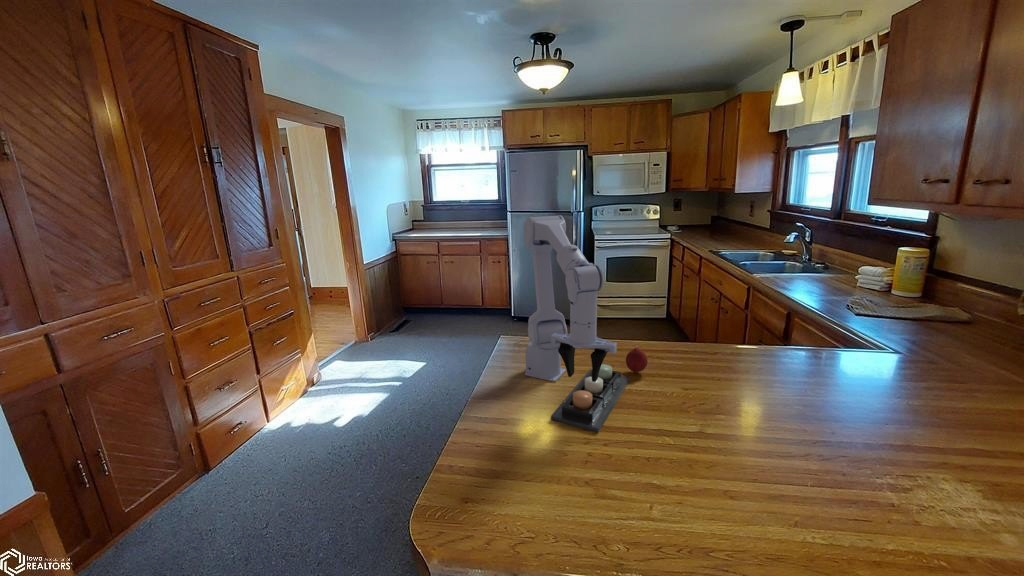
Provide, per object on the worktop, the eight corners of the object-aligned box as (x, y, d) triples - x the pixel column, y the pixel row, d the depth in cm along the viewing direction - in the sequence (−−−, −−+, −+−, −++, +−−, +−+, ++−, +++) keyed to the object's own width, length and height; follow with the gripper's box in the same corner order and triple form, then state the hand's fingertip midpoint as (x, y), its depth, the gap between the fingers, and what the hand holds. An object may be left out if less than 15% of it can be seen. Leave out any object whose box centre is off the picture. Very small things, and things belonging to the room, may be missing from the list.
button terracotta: (570, 407, 94) (570, 397, 93) (576, 398, 98) (576, 388, 97) (588, 411, 92) (588, 401, 91) (594, 402, 95) (594, 392, 95)
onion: (648, 378, 112) (649, 350, 110) (626, 377, 113) (627, 349, 111) (645, 369, 117) (646, 342, 115) (624, 368, 118) (625, 342, 116)
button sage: (592, 378, 107) (592, 369, 107) (597, 371, 111) (598, 363, 110) (609, 381, 105) (609, 372, 105) (614, 374, 109) (614, 366, 108)
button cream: (582, 391, 101) (582, 382, 100) (588, 384, 104) (588, 375, 104) (599, 395, 98) (599, 386, 98) (605, 387, 102) (605, 378, 102)
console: (550, 420, 93) (550, 408, 92) (590, 373, 116) (590, 363, 115) (598, 433, 88) (598, 420, 87) (629, 380, 111) (629, 370, 110)
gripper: (545, 321, 90) (546, 378, 93) (610, 330, 83) (609, 391, 86) (558, 312, 96) (558, 366, 99) (620, 320, 89) (618, 378, 92)
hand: (582, 377), depth 93 cm, fingers open, 5 cm apart
